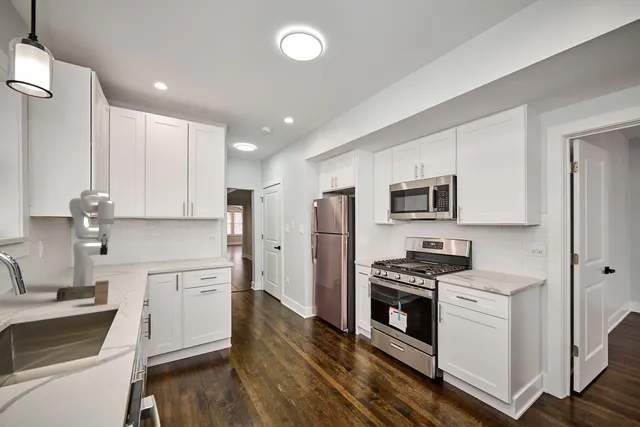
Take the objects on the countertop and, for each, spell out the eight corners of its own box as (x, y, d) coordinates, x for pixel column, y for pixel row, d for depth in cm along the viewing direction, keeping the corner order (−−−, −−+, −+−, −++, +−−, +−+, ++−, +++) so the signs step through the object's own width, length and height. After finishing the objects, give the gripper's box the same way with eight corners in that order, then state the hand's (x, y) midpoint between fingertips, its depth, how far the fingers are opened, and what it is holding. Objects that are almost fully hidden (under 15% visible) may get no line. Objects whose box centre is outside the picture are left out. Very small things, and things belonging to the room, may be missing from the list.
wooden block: (94, 303, 149) (95, 281, 150) (107, 302, 152) (108, 280, 153) (94, 306, 145) (95, 282, 145) (107, 304, 148) (108, 281, 148)
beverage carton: (100, 297, 163) (101, 286, 163) (55, 302, 151) (56, 290, 151) (100, 294, 169) (101, 283, 169) (57, 299, 157) (58, 287, 158)
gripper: (97, 222, 163) (95, 253, 162) (96, 222, 149) (94, 256, 149) (113, 222, 168) (111, 252, 167) (113, 222, 154) (112, 255, 153)
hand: (103, 254), depth 158 cm, fingers open, 5 cm apart
